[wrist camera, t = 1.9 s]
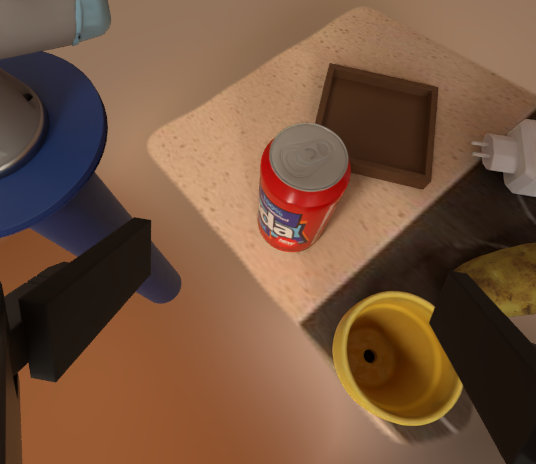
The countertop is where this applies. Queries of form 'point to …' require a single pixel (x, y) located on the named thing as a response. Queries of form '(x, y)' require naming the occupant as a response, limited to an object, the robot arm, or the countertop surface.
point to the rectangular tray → (381, 123)
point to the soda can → (300, 185)
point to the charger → (512, 157)
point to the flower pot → (395, 359)
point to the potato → (507, 278)
